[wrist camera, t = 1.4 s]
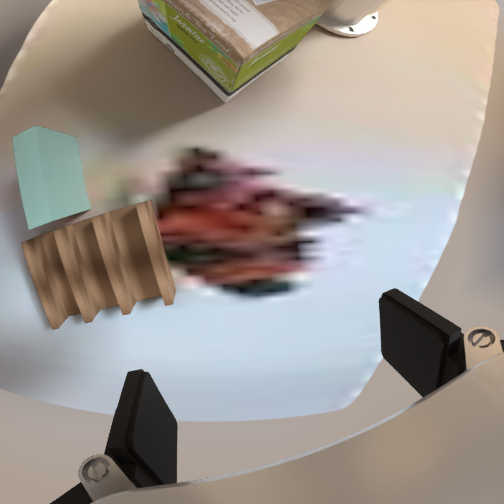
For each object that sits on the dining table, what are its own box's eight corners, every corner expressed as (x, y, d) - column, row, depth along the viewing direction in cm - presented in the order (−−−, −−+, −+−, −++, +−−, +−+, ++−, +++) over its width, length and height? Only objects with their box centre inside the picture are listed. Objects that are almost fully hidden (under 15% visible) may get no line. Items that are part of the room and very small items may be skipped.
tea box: (144, 31, 27) (120, -38, 12) (207, -10, 26) (215, -84, 12) (225, 107, 31) (243, 58, 17) (287, 60, 30) (337, 2, 16)
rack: (38, 235, 30) (21, 243, 26) (151, 199, 32) (144, 202, 28) (65, 314, 33) (52, 329, 29) (176, 289, 35) (173, 304, 31)
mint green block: (56, 145, 28) (12, 137, 19) (76, 137, 29) (35, 125, 19) (70, 215, 31) (28, 230, 21) (90, 209, 31) (52, 220, 21)
